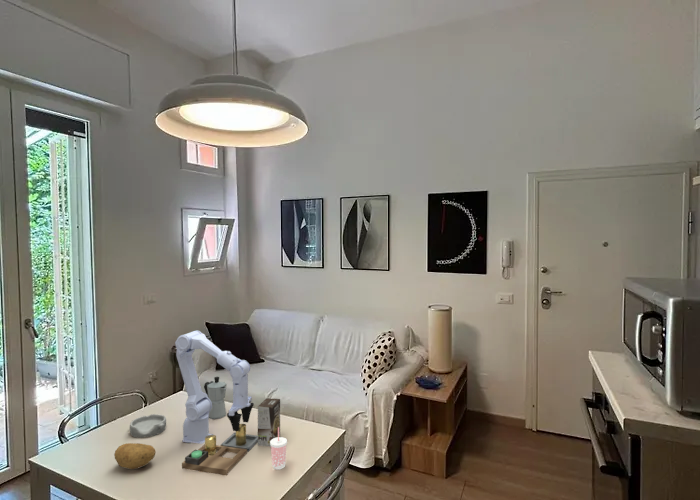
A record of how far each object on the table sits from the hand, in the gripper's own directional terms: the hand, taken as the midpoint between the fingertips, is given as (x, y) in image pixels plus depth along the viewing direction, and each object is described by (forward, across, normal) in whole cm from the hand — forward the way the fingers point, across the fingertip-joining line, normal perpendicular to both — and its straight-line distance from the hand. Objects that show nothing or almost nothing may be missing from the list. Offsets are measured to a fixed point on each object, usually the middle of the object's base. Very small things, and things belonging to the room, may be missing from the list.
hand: (240, 426), depth 156 cm
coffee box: (+8, +5, -10) cm, 14 cm away
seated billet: (+8, -10, +7) cm, 14 cm away
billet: (+7, 0, 0) cm, 7 cm away
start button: (+5, -17, +8) cm, 20 cm away
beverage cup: (+8, -10, -21) cm, 24 cm away
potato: (+8, -23, +29) cm, 38 cm away
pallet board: (+8, -13, +3) cm, 15 cm away
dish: (+8, +1, +45) cm, 46 cm away
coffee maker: (+8, +22, +26) cm, 35 cm away
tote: (+8, 0, 0) cm, 8 cm away
